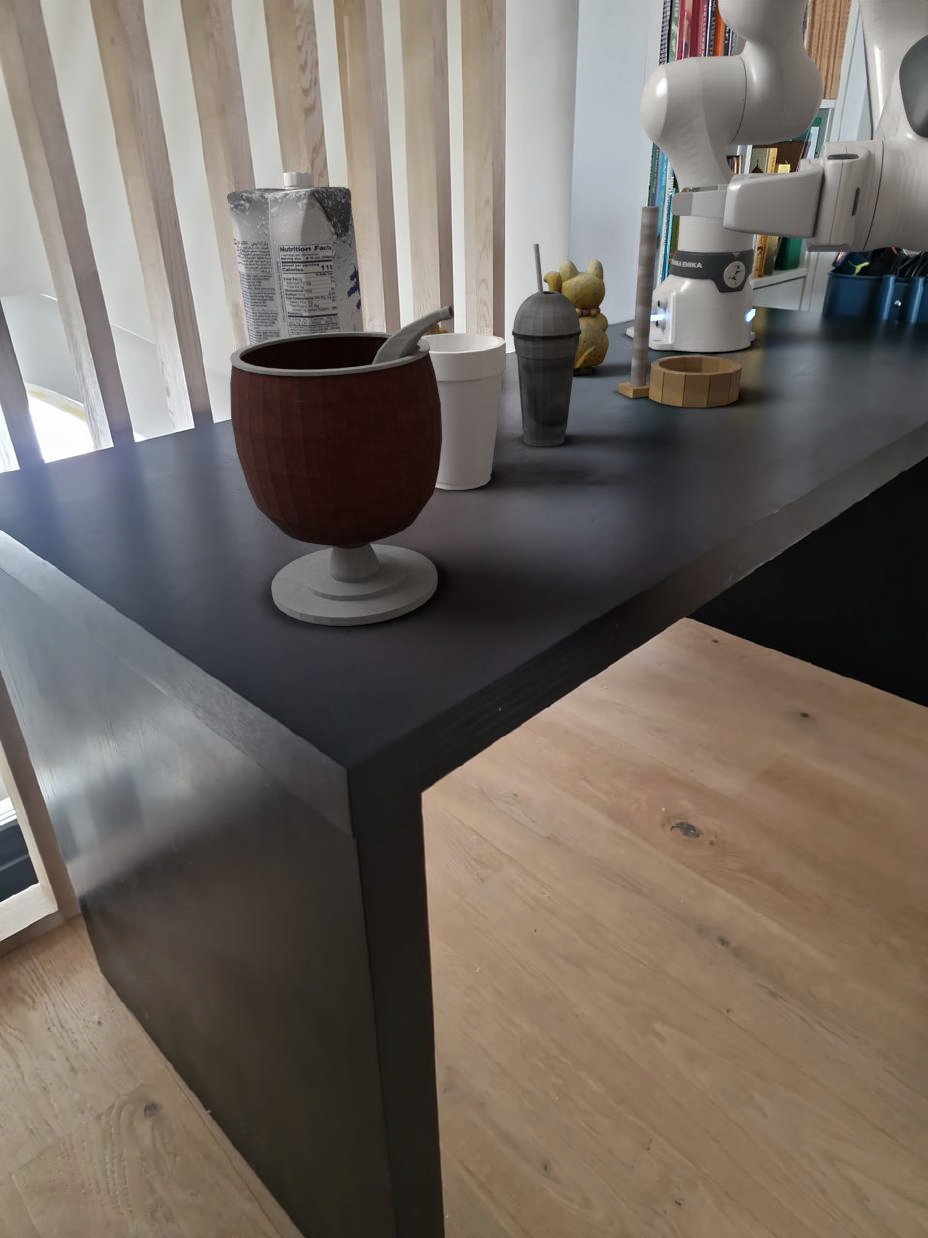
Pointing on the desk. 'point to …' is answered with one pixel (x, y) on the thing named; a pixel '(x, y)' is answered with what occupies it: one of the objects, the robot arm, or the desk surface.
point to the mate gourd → (342, 463)
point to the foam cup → (467, 404)
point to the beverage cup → (545, 362)
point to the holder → (676, 375)
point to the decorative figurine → (584, 310)
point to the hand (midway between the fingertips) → (675, 200)
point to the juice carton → (296, 259)
